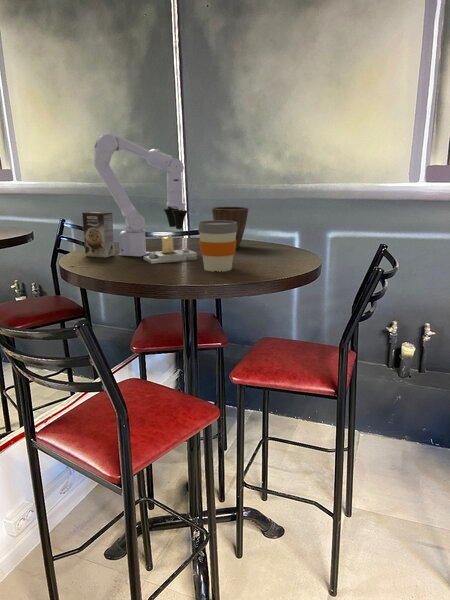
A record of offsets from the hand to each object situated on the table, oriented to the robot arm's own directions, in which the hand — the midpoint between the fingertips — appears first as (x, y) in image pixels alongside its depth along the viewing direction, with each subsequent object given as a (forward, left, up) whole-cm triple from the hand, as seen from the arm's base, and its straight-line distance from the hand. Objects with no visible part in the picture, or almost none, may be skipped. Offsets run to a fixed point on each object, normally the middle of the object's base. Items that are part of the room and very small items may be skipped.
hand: (175, 227), depth 180 cm
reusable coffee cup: (+26, -24, -10) cm, 37 cm away
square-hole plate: (+4, -15, -9) cm, 18 cm away
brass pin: (+4, -15, -9) cm, 18 cm away
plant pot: (+16, +18, -10) cm, 26 cm away
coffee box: (-24, -16, -10) cm, 30 cm away
